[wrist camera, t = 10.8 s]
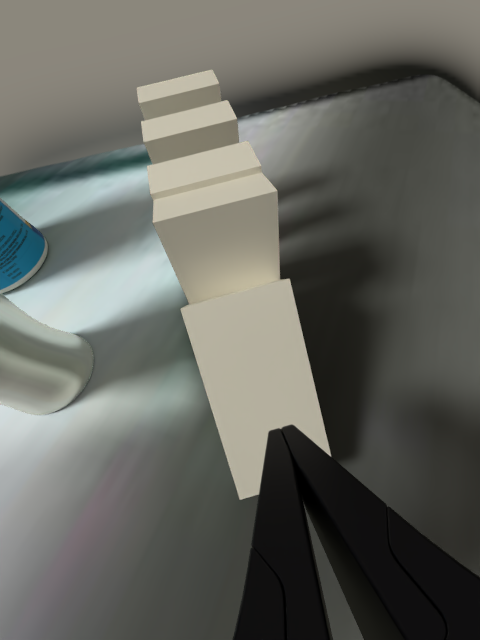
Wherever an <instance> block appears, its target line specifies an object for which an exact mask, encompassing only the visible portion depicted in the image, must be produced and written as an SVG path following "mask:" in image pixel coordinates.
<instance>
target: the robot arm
mask: <svg viewBox="0 0 480 640" xmlns="http://www.w3.org/2000/svg"><path fill="white" fill-rule="evenodd" d="M302 499H303V500H302ZM303 502H304V504H303ZM304 505H305V507H306V510H307V512H308V514H309V517H310V519H311V521H312V523H313V526H314V528H315V530H316V532H317V535H318V537H319V539H320V541H321V544H322V546H323V548H324V550H325V553H326V555H327V557H328V559H329V562H330V564H331V566H332V568H333V571H334V573H335V575H336V577H337V580H338V582H339V584H340V586H341V589H342V591H343V593H344V595H345V598H346V600H347V602H348V604H349V607H350V609H351V611H352V613H353V616H354V618H355V620H356V622H357V625H358V627H359V629H360V631H361V634H362V636H363V638H364V640H480V577H478V576H477V575H476V574H474V573H473V572H471V571H470V570H469V569H467V568H466V567H465V566H463V565H462V564H460V563H459V562H458V561H457V560H455V559H454V558H453V557H451V556H450V555H449V554H447V553H446V552H445V551H443V550H442V549H441V548H439V547H438V546H437V545H435V544H434V543H433V542H431V541H430V540H429V539H428V538H426V537H425V536H424V535H423V534H421V533H420V532H419V531H418V530H417V529H415V528H414V527H413V526H412V525H410V524H409V523H408V522H407V521H406V520H404V519H403V518H402V517H401V516H400V515H399V514H397V513H396V512H395V511H394V510H393V509H392V508H390V507H387V505H386V503H384V502H383V501H382V500H381V499H380V498H379V497H377V496H376V495H375V494H374V493H373V492H372V491H370V490H369V489H368V488H367V487H366V486H364V485H363V484H362V483H361V482H360V481H359V480H357V479H356V478H355V477H354V476H353V475H352V474H350V473H349V472H348V471H347V470H346V469H345V468H343V467H342V466H341V465H340V464H339V463H338V462H336V461H335V460H334V459H333V458H332V457H331V456H329V455H328V454H327V453H326V452H325V451H324V450H322V449H321V448H320V447H319V446H318V445H317V444H315V443H314V442H313V441H312V440H311V439H310V438H308V437H307V436H306V435H305V434H304V433H303V432H301V431H300V430H299V429H298V428H297V427H296V426H294V425H292V424H291V425H287V426H284V427H282V428H281V429H280V428H277V429H273V430H270V431H269V432H268V437H267V444H266V451H265V457H264V464H263V471H262V477H261V484H260V490H259V497H258V504H257V510H256V517H255V523H254V530H253V537H252V543H251V545H252V548H251V549H250V555H249V562H248V568H247V574H246V580H245V585H244V591H243V596H242V601H241V606H240V610H239V615H238V619H237V623H236V628H235V632H234V637H233V640H333V637H332V632H331V628H330V623H329V618H328V614H327V609H326V605H325V600H324V595H323V591H322V586H321V582H320V577H319V572H318V568H317V563H316V559H315V554H314V549H313V545H312V540H311V536H310V531H309V526H308V522H307V517H306V513H305V508H304Z"/></svg>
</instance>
